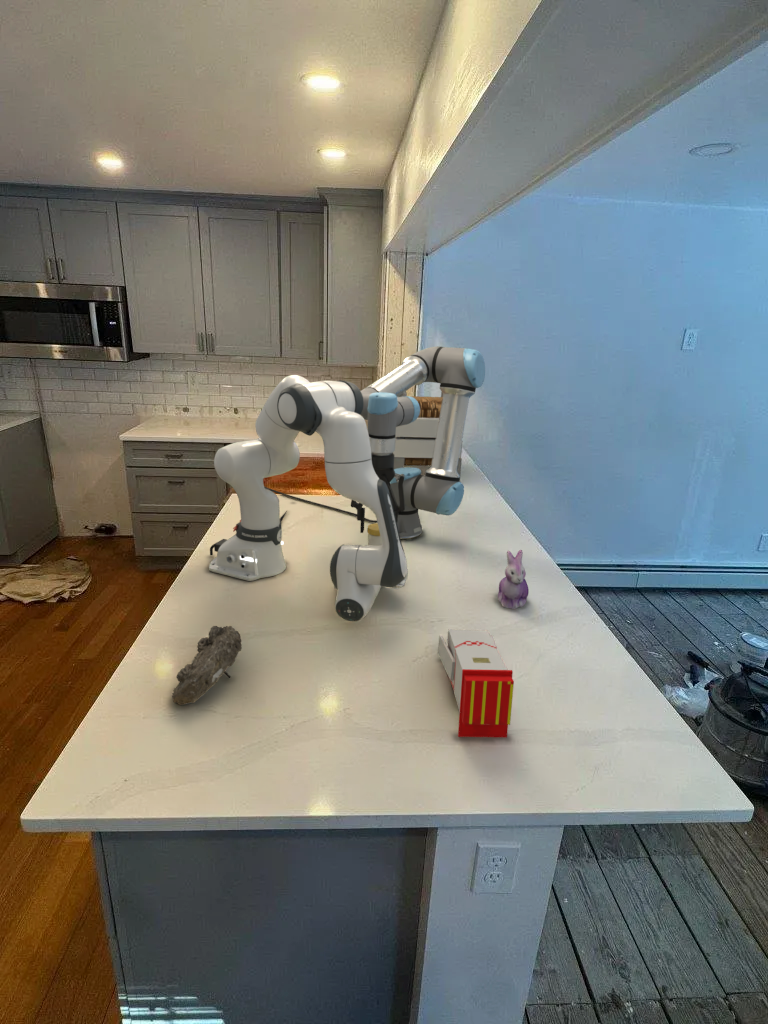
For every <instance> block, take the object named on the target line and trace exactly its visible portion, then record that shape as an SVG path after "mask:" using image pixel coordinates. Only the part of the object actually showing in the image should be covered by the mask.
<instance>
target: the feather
mask: <svg viewBox="0 0 768 1024" xmlns="http://www.w3.org/2000/svg"><path fill="white" fill-rule="evenodd" d="M287 512H288V510H286V511H285V512H284V513H283V514H282V515H281V516H280V522H281V523H282V522H283V519H284V518H285V516H286V514H287Z"/></svg>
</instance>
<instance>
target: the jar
mask: <svg viewBox="0 0 768 1024" xmlns="http://www.w3.org/2000/svg"><path fill="white" fill-rule="evenodd" d="M367 545H378V546H379V545H382V540H381V536H374V535H370V534H369V533H368V532H367Z"/></svg>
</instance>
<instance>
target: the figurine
mask: <svg viewBox="0 0 768 1024" xmlns="http://www.w3.org/2000/svg"><path fill="white" fill-rule="evenodd" d="M523 552H524V551H523V550H522V549H520V550H518V551H517V553H516V554H515V556H514V555H513V553H512V552H511V551H510V550H507V551H506V561H507V565H506V568H505V570H504V575H505V576H504V577H503V578H501V580H500V581H499V584H498V593H497V601H498V602H499V603H500V604H501V606H502V607H503V608H506V609H507V608H508V609H511V610H512V609H514V610H516V609H518V608H522V607H524V606H525V605H526V602H527V601H528V600H527V599H528V596H529V592H530V591H529V590H530V589H529V585H528V582H527V580H526V575H527V574H526V573H527V571H526V570H525V566H524V565H523V555H524V554H523Z"/></svg>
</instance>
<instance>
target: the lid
mask: <svg viewBox="0 0 768 1024" xmlns="http://www.w3.org/2000/svg"><path fill="white" fill-rule="evenodd" d="M366 529H367V530H366V531H367V534H368V533H369V534H370V535H374V536H380V532H379V527H378V523H370V524H368V525H367V528H366Z"/></svg>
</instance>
